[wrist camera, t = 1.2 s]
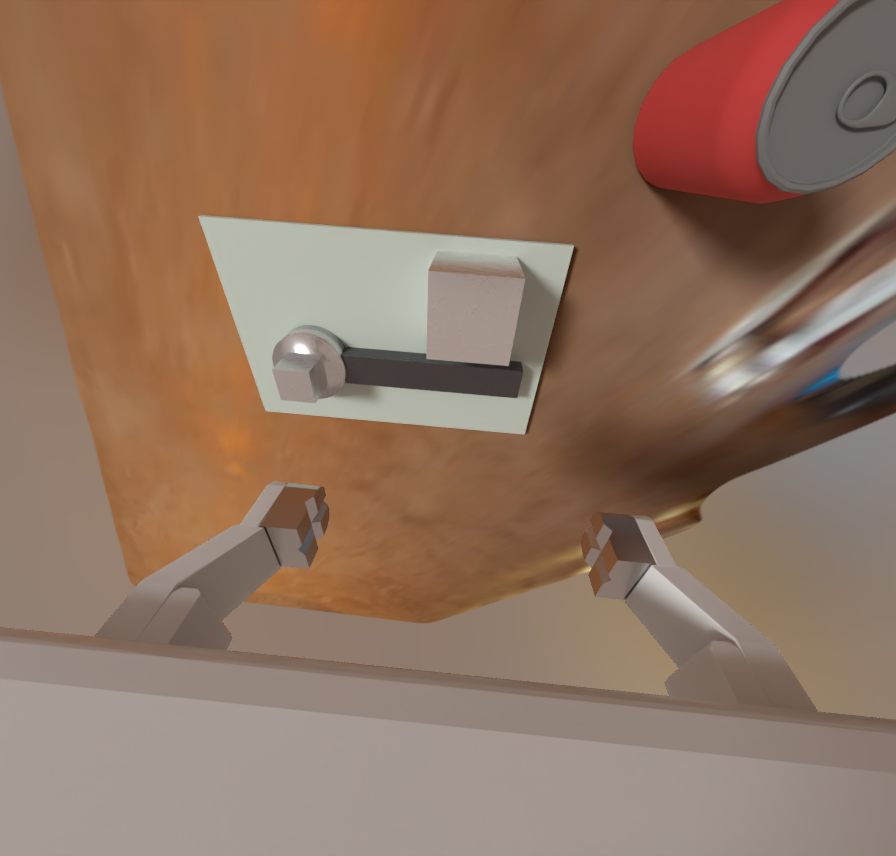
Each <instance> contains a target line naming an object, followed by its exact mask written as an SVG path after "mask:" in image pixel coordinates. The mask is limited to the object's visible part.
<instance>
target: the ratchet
mask: <svg viewBox="0 0 896 856" xmlns="http://www.w3.org/2000/svg"><path fill="white" fill-rule="evenodd" d="M272 361H273V366H274V367H273V368H272V372H273V375H274V378H275V382H276V385H277V388H278V391H279V395H280V398H281V400H285V401H296V402H307V403H316V402H317V401H318V399H324V398H328V397H331V396H333V395H335V394H336V393H337V392H338V391H339V390H340V389H341V387H342V386H343V384H344V383H349V384H361V385H372V386H383V387H394V388H406V389H417V390H428V391H440V392H451V393H462V394H474V395H485V396H496V397H508V398H517V397H518V393H519V388H520V384H521V380H522V375H523V368H522V363H521V362H518V361H510V362H509V366H503V365H491V364H479V363H468V362H456V361H445V360H433V359H426V354H425V353H414V352H402V351H390V350H379V349H367V348H356V347H347V348H346V346H345V345H344V343H343V342H342V341H341V340H340V339H339V338H338V337H337V336H336V335H335V334H333V333H332V332H330V331H328V330H326V329H324V328H322V327H319V326H314V325H302V326H299V327H296V328H294V329H293V330H291V331H290V332H289V333H288V334H287V335H286V336H285V337H284V338H282V339H281V340H280V341H279V342H278V343H277V345H276V346H275V348H274V350H273V355H272Z"/></svg>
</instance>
